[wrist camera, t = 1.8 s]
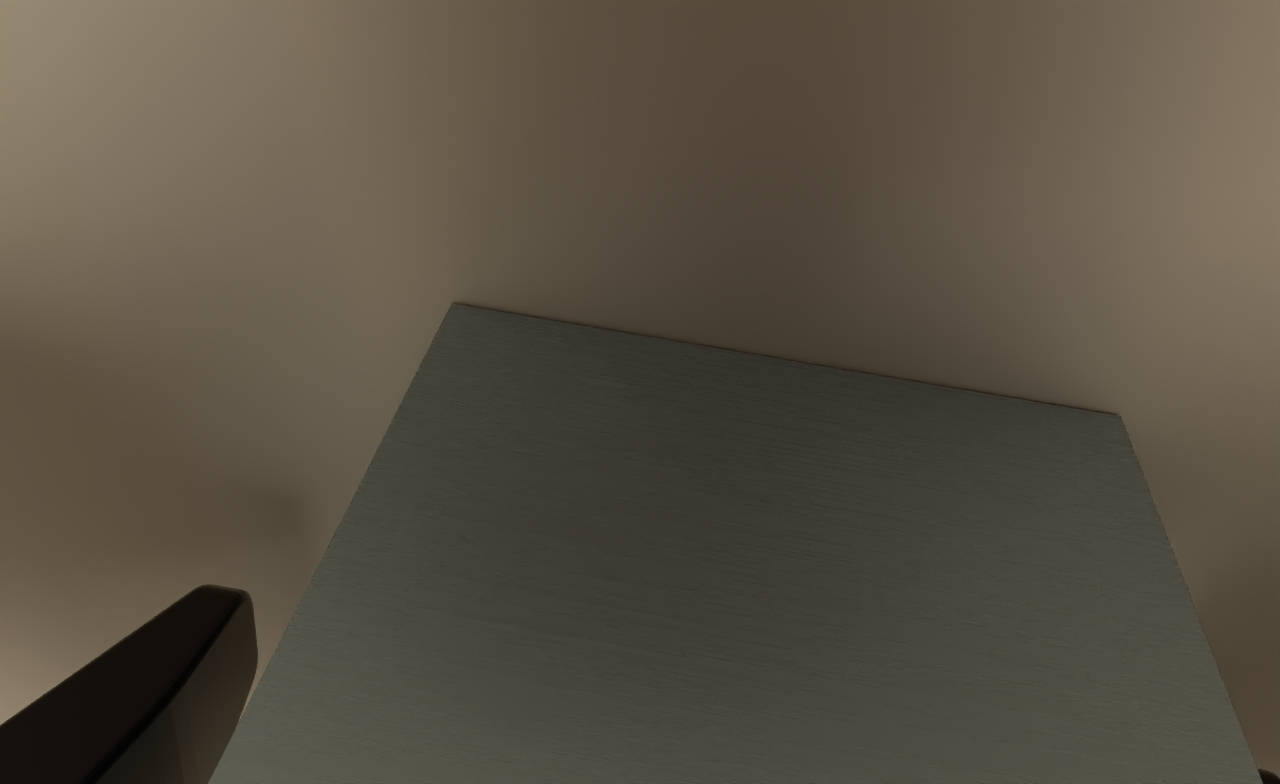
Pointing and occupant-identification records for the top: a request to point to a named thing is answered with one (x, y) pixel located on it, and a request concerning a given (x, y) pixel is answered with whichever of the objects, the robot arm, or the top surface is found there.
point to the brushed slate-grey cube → (735, 585)
